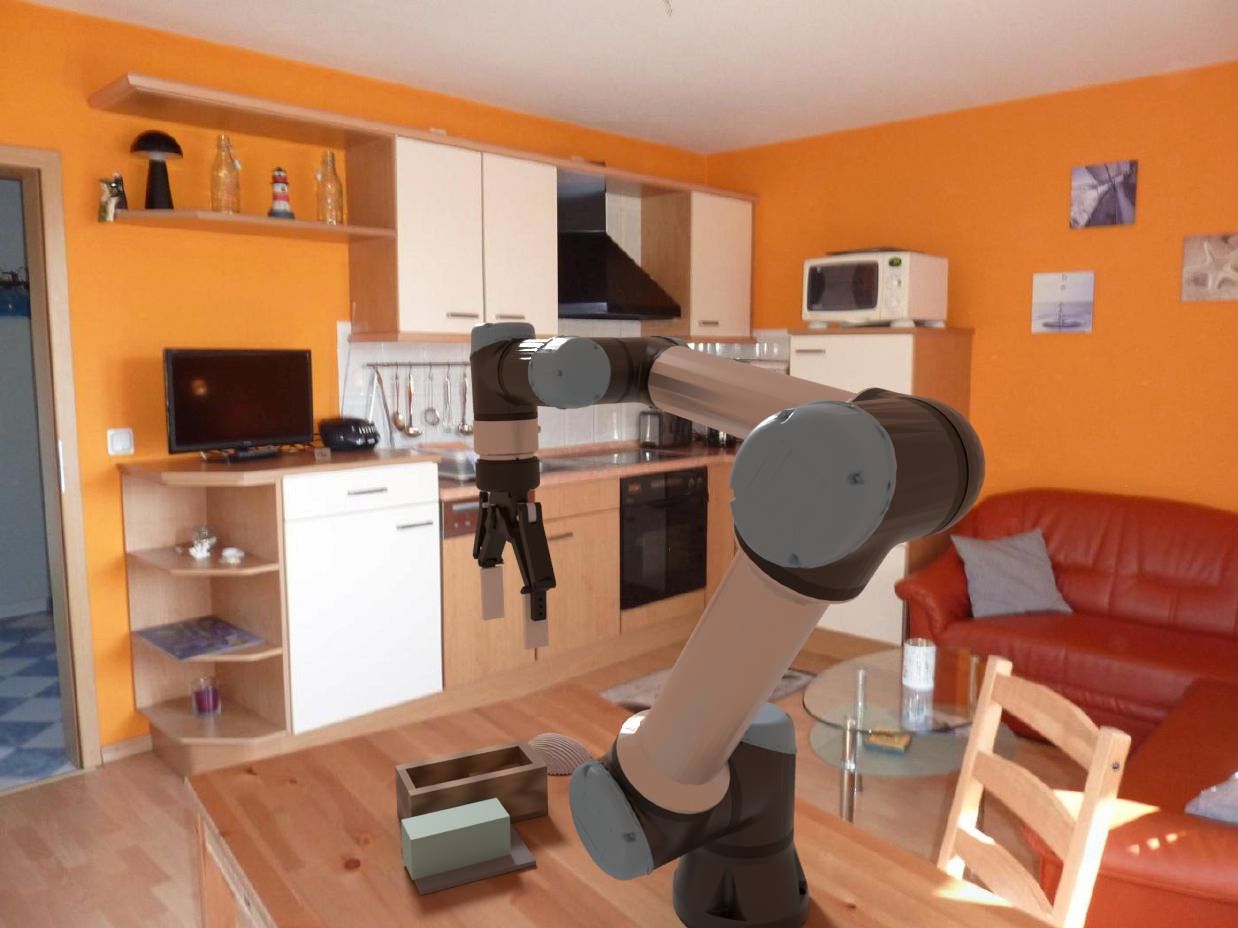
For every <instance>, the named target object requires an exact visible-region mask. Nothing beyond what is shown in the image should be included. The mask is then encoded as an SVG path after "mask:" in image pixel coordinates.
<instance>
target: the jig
mask: <svg viewBox="0 0 1238 928" xmlns="http://www.w3.org/2000/svg"><path fill="white" fill-rule="evenodd" d="M394 769H395V770H394V771H395V772H394V773H395V789H396V790H395V791H396V795H395V796H396V813H397V816H398V819H399V821H400V822H401V820H403V819H407V818H412V817H416V816H420V815H424V814H429V813H433V812H437V811H442V810H446V809H450V808H455V807H459V806H463V805H468V804H472V803H476V802H481V801H485V800H489V799H494V798H497V799H498V800H499V802H500V803H501V805H502V806H503V807H504V809H505V810H506V812H507V813H508V814H509V816H510V823H511V824H514V823H517V822H518V823H519V822H521V821H522V822H523V821H526V820H530V819H535V818H537V817H543V816H546V815H549V798H548V797H549V791H548V789H549V788H548V787H549V786H548V781H549V780H548V774H547V765H546V764H545V763H544V762H543V761H542V759H541V758H540V757H539V756H538V755H537V754H536V753H535V751H534V750H533V749H532V748H531V747H530V746H529V745H528V742H527V741H526V740H525V739H521V740H520V739H519V740H517V741H512V742H507V743H500V744H497V745H491V746H488V747H482V748H477V749H472V750H471V749H470V750H467V751H462V752H457V753H452V754H451V753H450V754H447V755H443V756H438V757H433V758H426V759H423V760H422V759H421V760H417V761H413V762H408V763H403V764H398V765H394Z"/></svg>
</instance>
